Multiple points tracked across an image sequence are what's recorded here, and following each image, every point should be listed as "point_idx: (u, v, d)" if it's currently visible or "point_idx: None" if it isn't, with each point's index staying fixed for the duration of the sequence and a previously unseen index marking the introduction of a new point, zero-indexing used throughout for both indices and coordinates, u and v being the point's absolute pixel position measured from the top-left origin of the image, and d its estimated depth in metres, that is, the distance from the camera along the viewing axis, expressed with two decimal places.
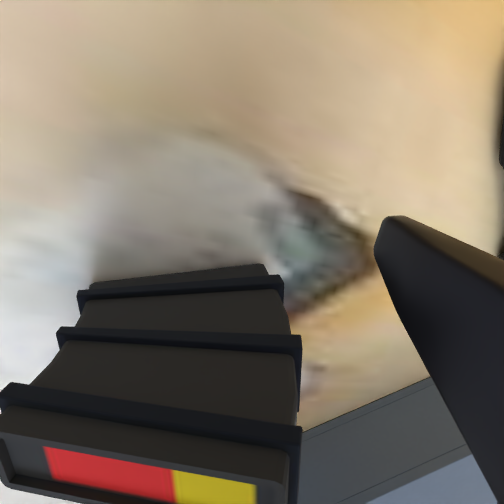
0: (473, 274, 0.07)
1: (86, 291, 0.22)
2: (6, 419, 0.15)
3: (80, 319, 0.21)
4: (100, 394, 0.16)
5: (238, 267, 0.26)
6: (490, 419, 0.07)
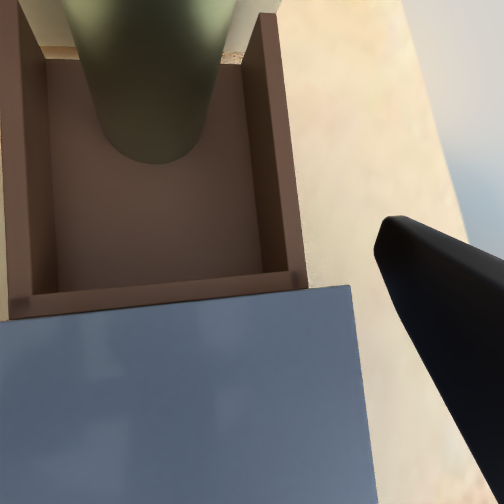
0: (473, 274, 0.07)
1: None
2: None
3: None
4: None
5: None
6: (490, 419, 0.07)
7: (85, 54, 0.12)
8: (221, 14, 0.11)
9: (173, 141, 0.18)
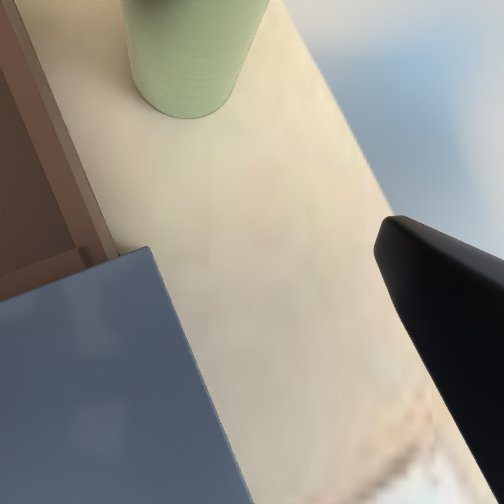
0: (473, 274, 0.07)
1: None
2: None
3: None
4: None
5: None
6: (490, 419, 0.07)
7: None
8: None
9: (207, 95, 0.17)
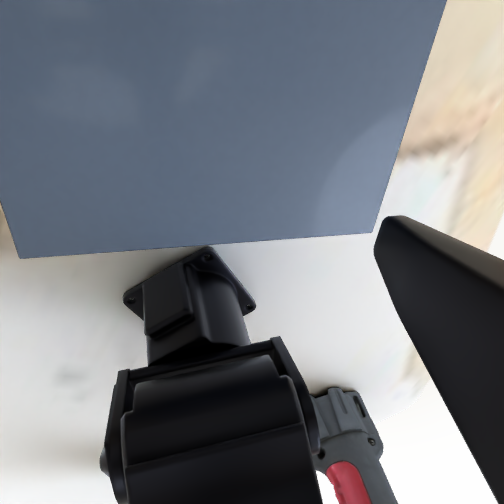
0: (473, 274, 0.07)
1: None
2: None
3: None
4: None
5: None
6: (490, 419, 0.07)
7: None
8: None
9: None
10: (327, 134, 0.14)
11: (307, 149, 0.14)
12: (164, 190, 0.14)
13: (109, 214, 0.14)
